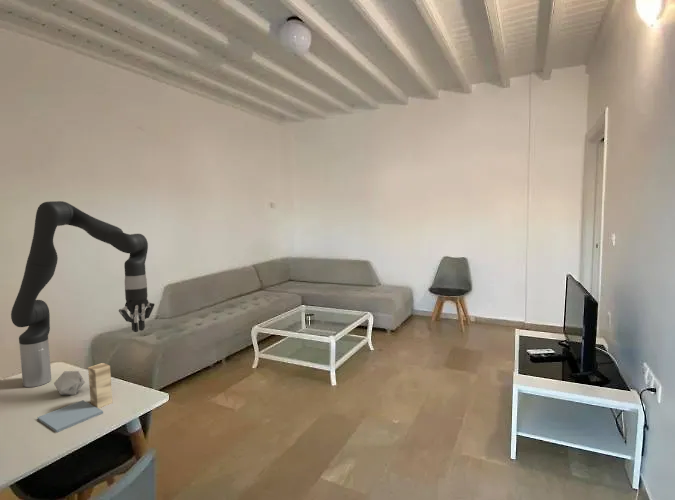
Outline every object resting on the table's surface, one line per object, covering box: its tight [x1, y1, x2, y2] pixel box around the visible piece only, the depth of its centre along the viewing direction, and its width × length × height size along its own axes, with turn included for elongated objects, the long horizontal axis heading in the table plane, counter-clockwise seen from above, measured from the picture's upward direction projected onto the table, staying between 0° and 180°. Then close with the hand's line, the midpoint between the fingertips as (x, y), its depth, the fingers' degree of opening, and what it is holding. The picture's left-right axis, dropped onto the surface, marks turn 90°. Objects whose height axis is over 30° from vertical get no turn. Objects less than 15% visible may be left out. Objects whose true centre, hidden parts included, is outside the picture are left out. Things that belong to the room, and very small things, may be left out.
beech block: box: [87, 362, 113, 409], centre depth 142 cm, size 5×5×14 cm
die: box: [53, 370, 86, 396], centre depth 151 cm, size 8×9×10 cm
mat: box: [37, 400, 104, 433], centre depth 134 cm, size 14×14×1 cm
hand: (138, 330), depth 153 cm, fingers closed
